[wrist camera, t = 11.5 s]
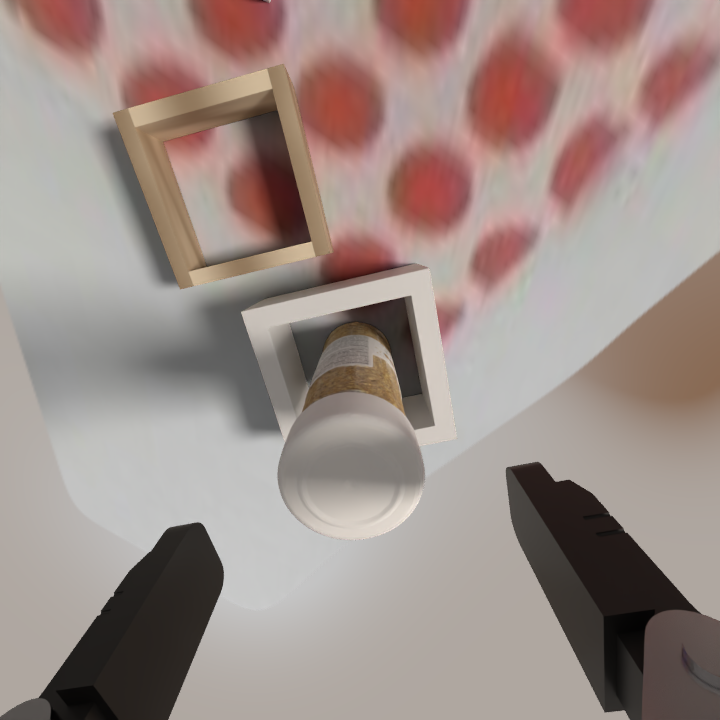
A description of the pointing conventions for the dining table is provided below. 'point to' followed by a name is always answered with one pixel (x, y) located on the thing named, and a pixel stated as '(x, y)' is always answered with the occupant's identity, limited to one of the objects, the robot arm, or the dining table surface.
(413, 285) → the block
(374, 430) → the sprinkles bottle
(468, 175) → the dining table surface
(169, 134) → the wooden square frame
